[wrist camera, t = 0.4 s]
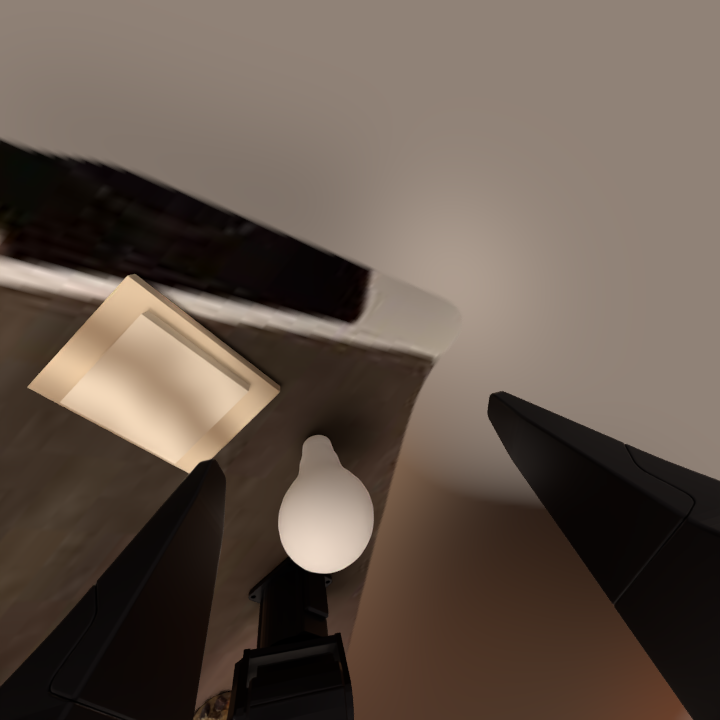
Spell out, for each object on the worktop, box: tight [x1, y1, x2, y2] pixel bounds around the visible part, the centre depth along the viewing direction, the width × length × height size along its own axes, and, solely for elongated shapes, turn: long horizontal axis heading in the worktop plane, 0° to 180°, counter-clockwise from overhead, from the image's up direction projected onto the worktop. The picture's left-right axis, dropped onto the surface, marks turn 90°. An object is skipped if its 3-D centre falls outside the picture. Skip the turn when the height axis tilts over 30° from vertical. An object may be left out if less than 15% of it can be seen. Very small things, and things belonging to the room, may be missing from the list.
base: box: [28, 274, 280, 473], centre depth 21 cm, size 10×12×2 cm
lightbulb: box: [278, 435, 374, 573], centre depth 22 cm, size 6×6×11 cm
